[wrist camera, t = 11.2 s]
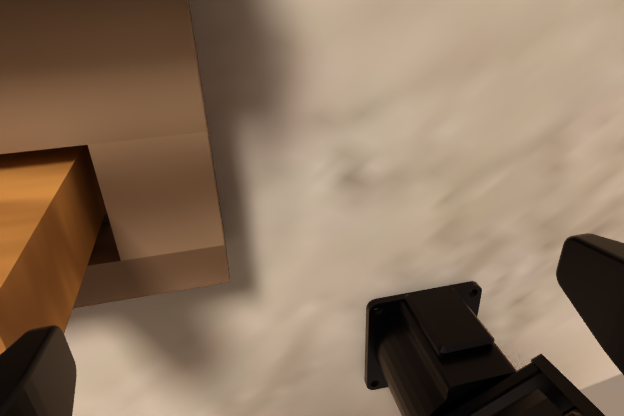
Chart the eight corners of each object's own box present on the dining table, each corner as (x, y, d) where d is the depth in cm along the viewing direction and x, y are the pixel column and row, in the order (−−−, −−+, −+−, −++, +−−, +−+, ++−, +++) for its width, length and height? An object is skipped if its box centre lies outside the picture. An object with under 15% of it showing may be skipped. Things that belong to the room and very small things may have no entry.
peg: (107, 208, 19) (36, 413, 10) (27, 218, 18) (-117, 443, 10) (87, 138, 18) (-13, 310, 9) (0, 147, 17) (-194, 338, 8)
